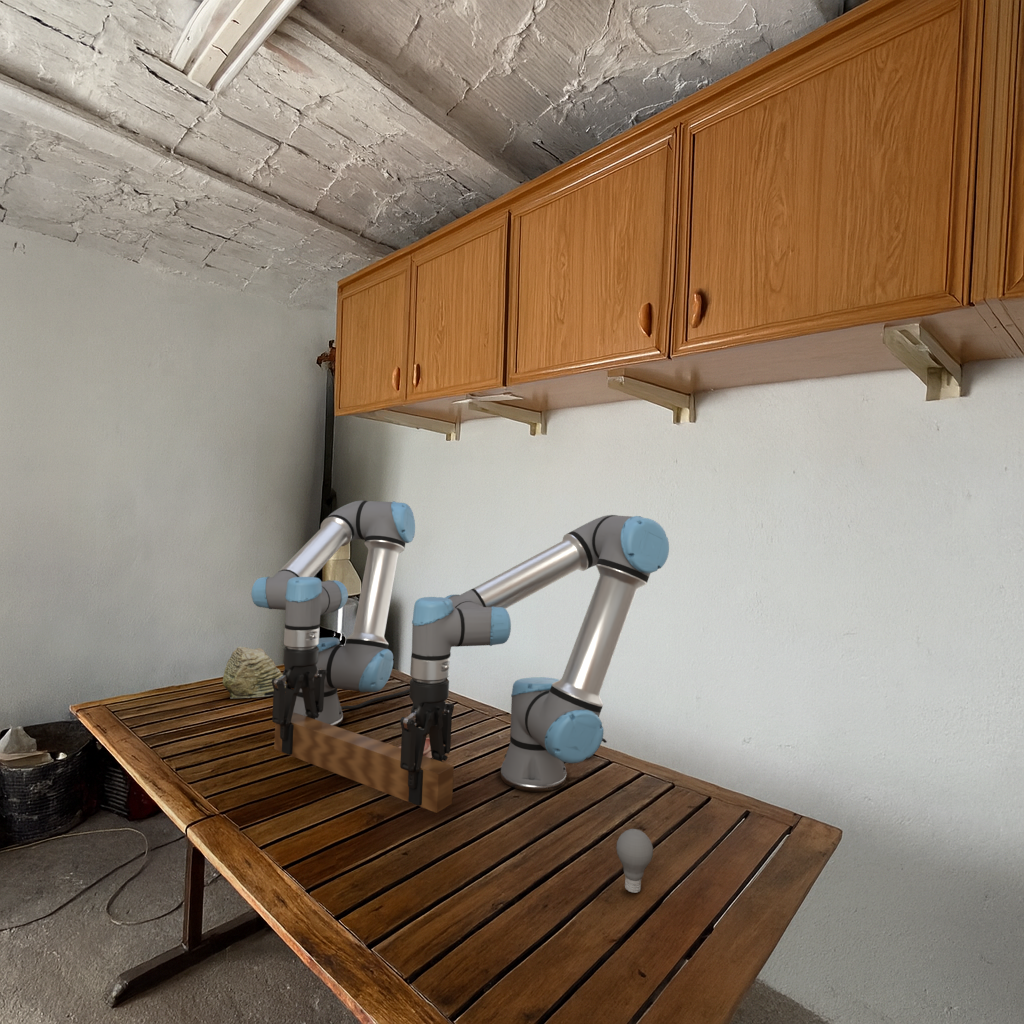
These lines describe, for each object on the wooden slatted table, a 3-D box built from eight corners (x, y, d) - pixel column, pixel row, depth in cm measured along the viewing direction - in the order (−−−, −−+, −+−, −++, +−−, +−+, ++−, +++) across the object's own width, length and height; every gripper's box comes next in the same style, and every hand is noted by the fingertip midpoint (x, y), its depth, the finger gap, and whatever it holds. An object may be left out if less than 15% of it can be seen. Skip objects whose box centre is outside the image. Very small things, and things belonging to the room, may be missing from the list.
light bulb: (610, 879, 108) (613, 822, 108) (644, 879, 109) (647, 822, 109) (619, 902, 102) (622, 840, 102) (655, 901, 103) (658, 840, 103)
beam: (274, 749, 144) (275, 717, 144) (291, 743, 148) (292, 711, 147) (436, 813, 118) (438, 773, 118) (452, 803, 122) (453, 765, 122)
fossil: (218, 695, 195) (220, 647, 195) (278, 685, 208) (279, 640, 207) (228, 703, 189) (230, 653, 188) (289, 692, 201) (290, 645, 201)
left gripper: (278, 656, 133) (273, 766, 133) (343, 642, 148) (338, 741, 148) (256, 650, 137) (251, 757, 137) (321, 637, 152) (317, 734, 152)
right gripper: (413, 692, 113) (407, 822, 113) (472, 672, 128) (467, 787, 128) (383, 684, 117) (377, 809, 117) (443, 665, 132) (438, 777, 132)
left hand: (297, 748), depth 143 cm, fingers closed on beam, 5 cm apart
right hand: (424, 797), depth 123 cm, fingers closed on beam, 5 cm apart
